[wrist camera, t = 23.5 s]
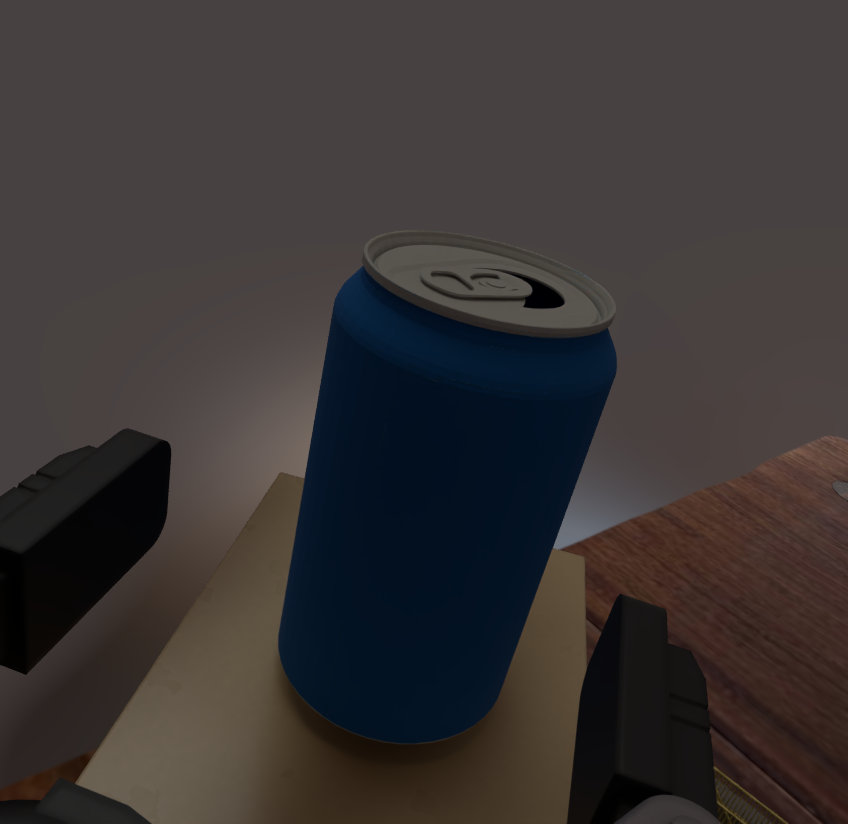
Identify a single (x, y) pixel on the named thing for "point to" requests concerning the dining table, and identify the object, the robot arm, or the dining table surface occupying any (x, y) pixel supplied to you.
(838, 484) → the wineglass
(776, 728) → the dining table surface
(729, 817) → the platform
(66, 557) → the robot arm
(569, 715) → the stool
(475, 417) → the beverage can
